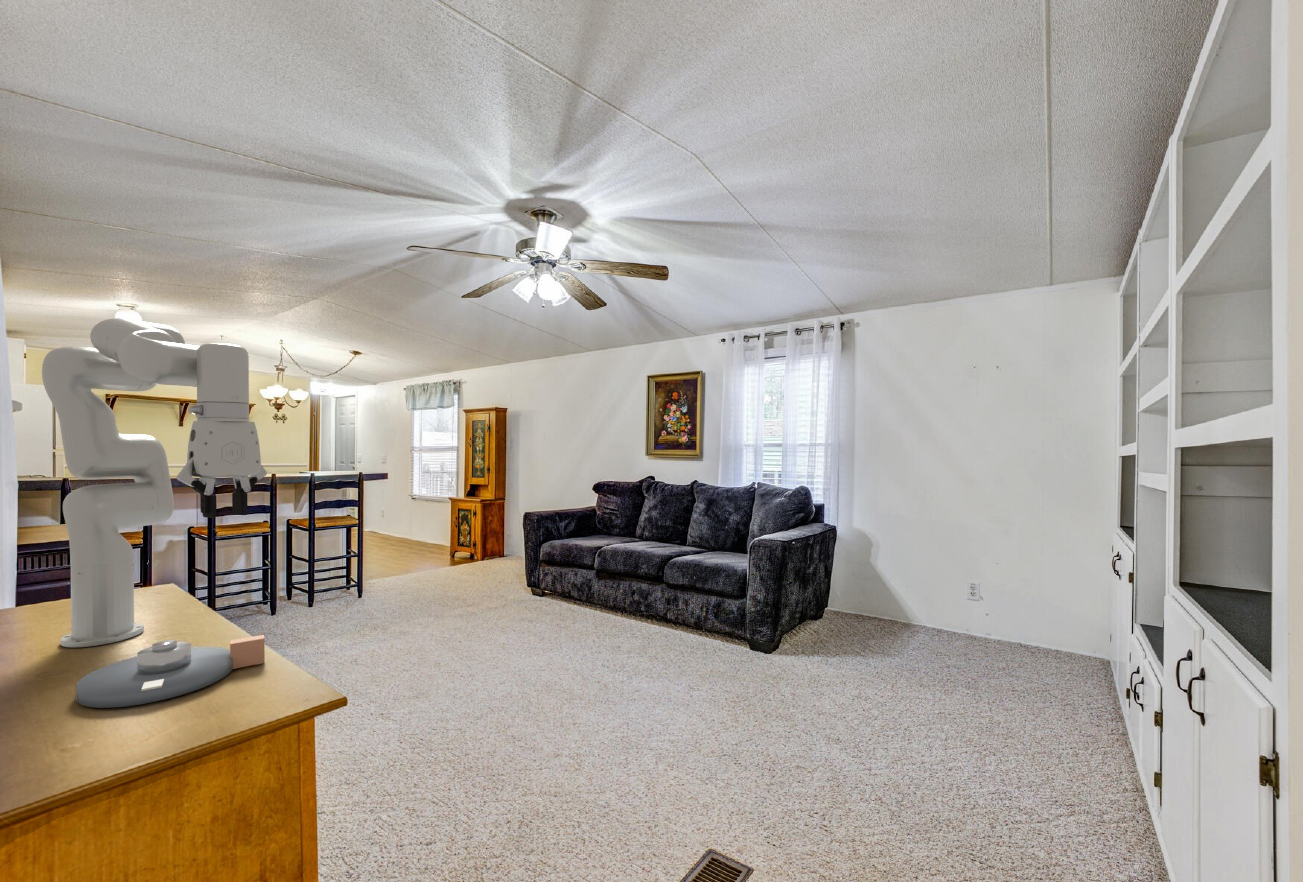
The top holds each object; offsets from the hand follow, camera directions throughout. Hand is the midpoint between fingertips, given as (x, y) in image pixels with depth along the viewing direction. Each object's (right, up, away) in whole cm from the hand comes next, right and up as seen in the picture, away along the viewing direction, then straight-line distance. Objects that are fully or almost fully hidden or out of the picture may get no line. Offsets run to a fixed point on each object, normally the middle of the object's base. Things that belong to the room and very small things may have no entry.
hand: (224, 514), depth 105 cm
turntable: (-4, -27, -6) cm, 28 cm away
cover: (-5, -25, -6) cm, 26 cm away
